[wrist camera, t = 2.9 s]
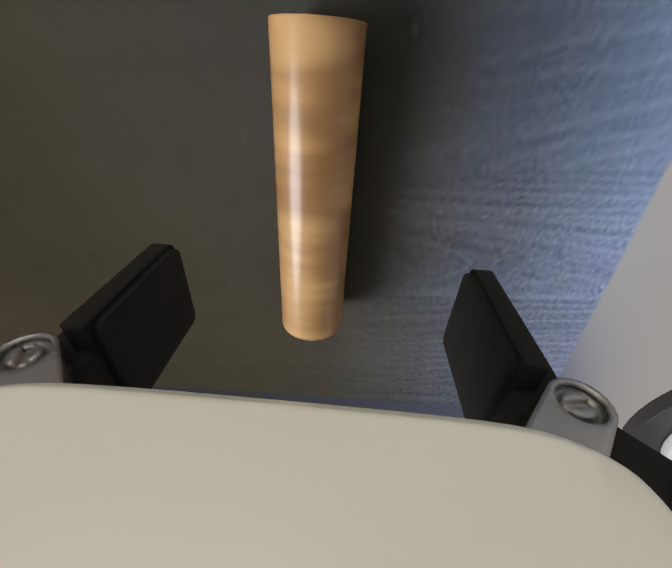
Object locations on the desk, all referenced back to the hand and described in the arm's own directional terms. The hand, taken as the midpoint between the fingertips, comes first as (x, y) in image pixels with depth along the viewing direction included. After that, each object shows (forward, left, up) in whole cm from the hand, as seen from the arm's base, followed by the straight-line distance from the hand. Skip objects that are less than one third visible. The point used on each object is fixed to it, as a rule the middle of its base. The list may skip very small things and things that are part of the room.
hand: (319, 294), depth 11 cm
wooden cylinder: (0, 0, -9) cm, 9 cm away
